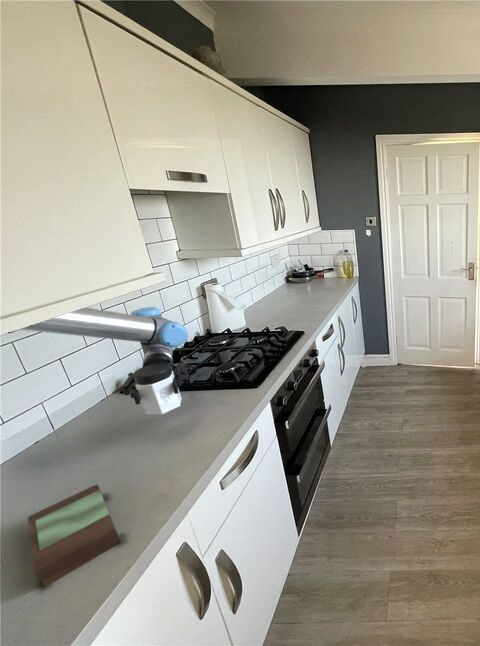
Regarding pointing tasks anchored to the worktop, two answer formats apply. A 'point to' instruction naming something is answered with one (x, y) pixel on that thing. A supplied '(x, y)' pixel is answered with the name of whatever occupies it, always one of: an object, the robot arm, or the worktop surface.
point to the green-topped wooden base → (71, 534)
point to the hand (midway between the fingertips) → (156, 394)
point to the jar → (157, 388)
